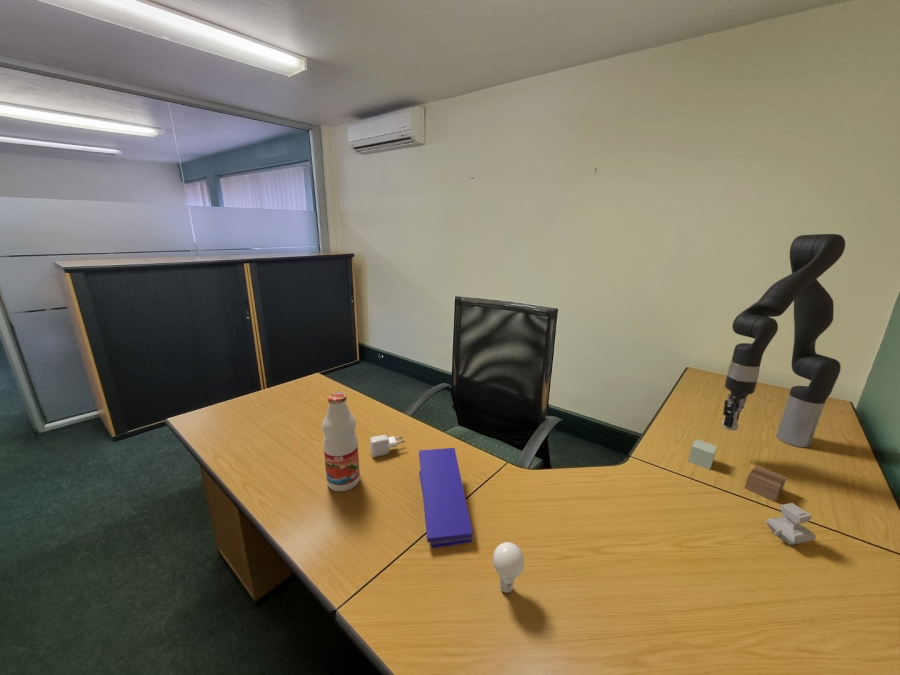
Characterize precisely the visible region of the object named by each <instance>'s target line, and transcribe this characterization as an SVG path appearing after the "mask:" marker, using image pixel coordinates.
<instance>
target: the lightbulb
mask: <svg viewBox="0 0 900 675" xmlns="http://www.w3.org/2000/svg"><path fill="white" fill-rule="evenodd" d="M492 556H493V557H492V563H493V567H494V570H495V571H496V572H497V574H498V576H499V578H500V582H499V588H500V590H501V591H502V592H504V593H506V594H508V593H512V591H513V588H514V581H515V579H516V578H518V577H519V576H520V575H521V574H522V572H523V570H524V569H525V555H524V553H523V551H522V550H521V548H520V547H519V545H517V544H515V543H513V542H508V541H504V542H502V543H500V544H499V545H497V547H496V548H495V549H494V550H493V554H492Z"/></svg>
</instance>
